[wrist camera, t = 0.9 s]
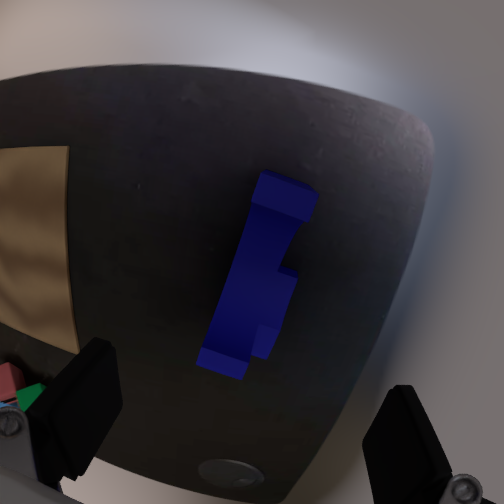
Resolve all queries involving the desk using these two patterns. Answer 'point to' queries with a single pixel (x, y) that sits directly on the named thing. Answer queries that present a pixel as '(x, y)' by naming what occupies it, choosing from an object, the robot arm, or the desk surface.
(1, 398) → the building blocks
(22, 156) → the cork mat
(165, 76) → the desk surface
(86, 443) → the robot arm
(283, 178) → the blue cradle bracket
